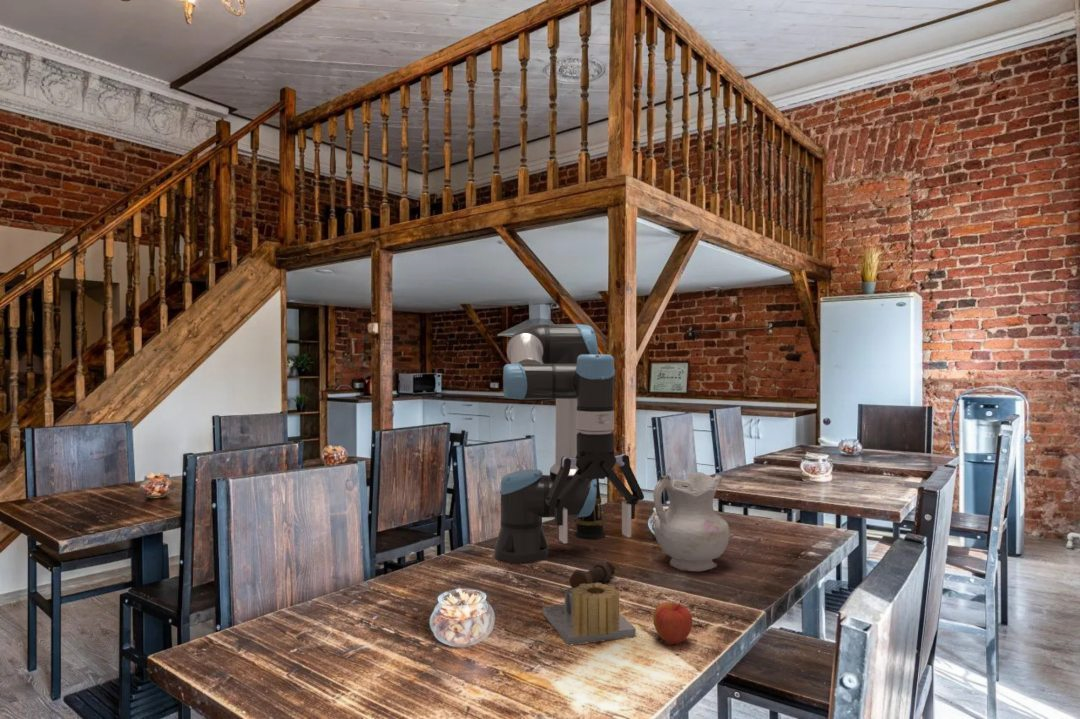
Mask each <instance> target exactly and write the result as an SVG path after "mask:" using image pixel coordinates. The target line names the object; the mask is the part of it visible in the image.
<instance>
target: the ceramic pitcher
mask: <svg viewBox="0 0 1080 719" xmlns="http://www.w3.org/2000/svg"><path fill="white" fill-rule="evenodd" d="M723 477H724V476H723V475H720V474H717V473H716V474H715V476H714V477H712V476H711V475H709V474H706V473H704V472H701V471H698V472H694V473H691V474H690V475H689V476H688V477H687V478H686V479H685V480H681V479H680V480H679V479H676V478H673V479H672V480H671V475H668V474H666V475H665V474H663V475H661V476H660V477H659V480H658V482H657V483H656V484H655V485H654V489H653V495H652V496H653V503H654V504H653V506H654V509H655V512H656V515H657V519H656V520H655V522H654V527H653V528H654V529H653V530H654V536H655V539H656V542H657V543H658V545H659V547H660V548H661V549H662V551H663V552H664V553H665V555H667V556H669V557H671V559H670V561H669V566H671V567H673V568H676V569H677V570H680V571H688V572H698V573H700V572H704V571H707V570H712V569H714V568H717V566H718V563H717V562H715V561H714V562H713V560H714V559H718V558H720V556H721V555H723V554H724V553H725V550H726V549H727V546H728V544H729V541H730V527H729V523H728V522H727V521H726V520H725V519H724V518H723V517H722V516H720V514H718V513H717V512H716V511H715V509H714V499H715V495H716V493H717V490H718V487H719V485H720V484H721V483H722V481H723ZM664 490H665V491H666V493H667V495H668V499H669V506H668V508H667V509H666V511H665V510H664V507H663V504H662V502H663V501H662V500H663V499H662V496H663V491H664Z"/></svg>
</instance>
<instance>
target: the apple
mask: <svg viewBox="0 0 1080 719" xmlns="http://www.w3.org/2000/svg"><path fill="white" fill-rule="evenodd" d="M681 603H682V600H681V599H680V600H679V603H676V602H664V603H660V604H659V605H657V606H656V607H655V609H654V612H653V617H652V618H653V625H654V628H655V632H656V633H657V634H658V636H659V637H660V638H661V639H662V640H664V641H665V642H667V643H668V644H670V645H672V644H675V645H677V644H678V645H679V644H680V643H682V642H683V641H685V640H686V639H687V638H688V637H689V635H690V633H691V630H692V627H693V616H692V613H691V612H690V611H691V610H689V609H688V608H687V607H685V606H684V605H682V604H681Z"/></svg>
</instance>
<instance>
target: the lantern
mask: <svg viewBox="0 0 1080 719" xmlns="http://www.w3.org/2000/svg"><path fill="white" fill-rule="evenodd" d="M596 488H597V493H596V501H595V506H594V509H593V511H592V513H591V514H590V515H589V516H586V517H577V518H575V520H574V521H575V523H576V531H575V537H576V538H578V539H582V540H587V541H588V540H600V539H603V538H605V537H606V536H605V535H606V533H605V531H604V520H603V518H602V516H603V515H602V506H601V505H602V498H601V491H600V490H601V488H600V479H599V478H597V487H596Z"/></svg>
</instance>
